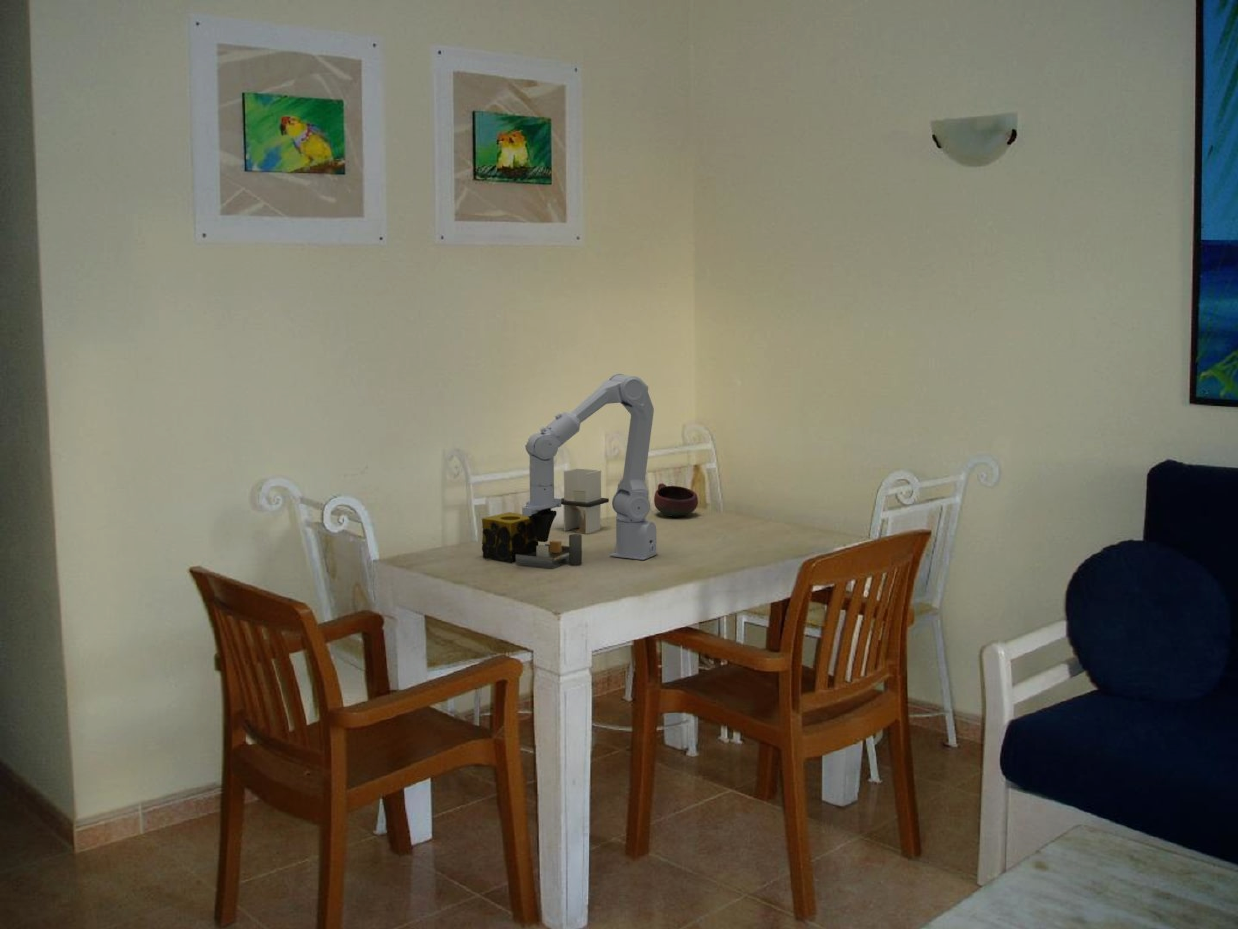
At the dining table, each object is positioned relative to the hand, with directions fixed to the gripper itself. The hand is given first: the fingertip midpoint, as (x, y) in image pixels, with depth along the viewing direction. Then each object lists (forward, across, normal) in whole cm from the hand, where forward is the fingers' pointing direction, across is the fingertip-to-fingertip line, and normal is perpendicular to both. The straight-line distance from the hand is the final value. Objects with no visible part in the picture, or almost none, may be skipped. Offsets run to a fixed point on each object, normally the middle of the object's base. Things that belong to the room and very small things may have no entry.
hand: (542, 541), depth 304 cm
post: (+5, -3, +7) cm, 9 cm away
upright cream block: (+4, 0, 0) cm, 4 cm away
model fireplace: (+6, -41, -12) cm, 43 cm away
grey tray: (+5, -3, 0) cm, 6 cm away
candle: (+6, -3, -11) cm, 13 cm away
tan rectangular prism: (+4, -6, 0) cm, 7 cm away
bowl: (+6, -72, -1) cm, 72 cm away
